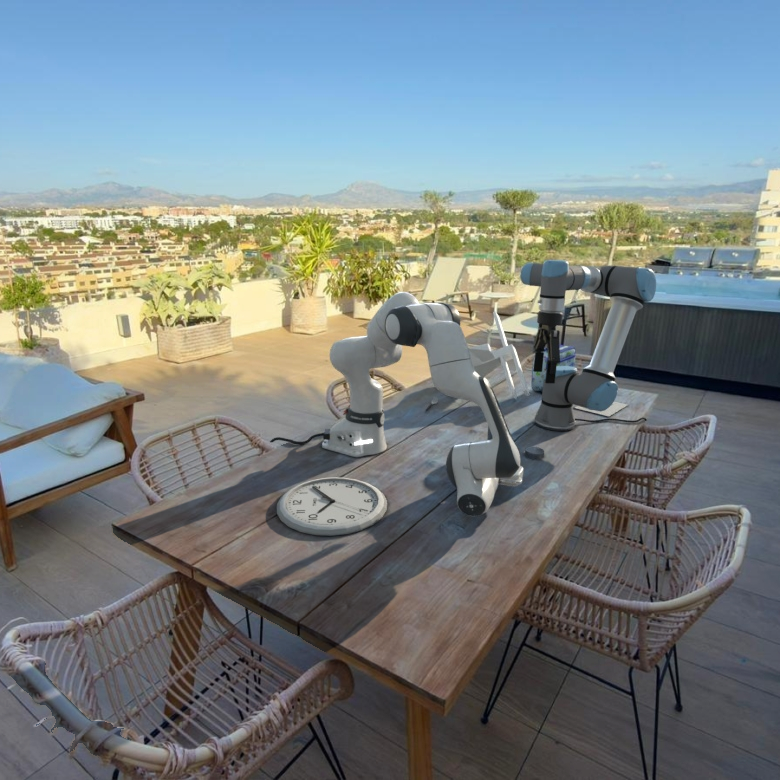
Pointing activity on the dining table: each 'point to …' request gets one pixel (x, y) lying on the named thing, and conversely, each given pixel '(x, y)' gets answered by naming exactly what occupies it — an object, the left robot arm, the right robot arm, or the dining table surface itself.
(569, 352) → the lunch box
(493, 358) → the white plastic object
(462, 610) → the dining table surface
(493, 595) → the dining table surface
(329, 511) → the wall clock
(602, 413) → the invitation card
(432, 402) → the fork
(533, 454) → the lid
